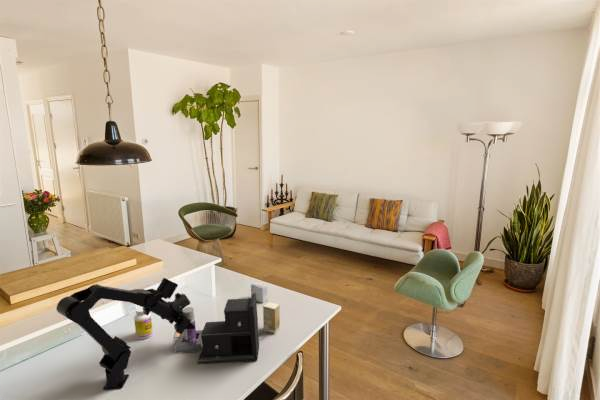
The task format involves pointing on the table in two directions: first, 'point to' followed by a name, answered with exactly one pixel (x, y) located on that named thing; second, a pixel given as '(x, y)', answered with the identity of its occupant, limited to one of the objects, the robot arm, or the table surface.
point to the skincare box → (271, 317)
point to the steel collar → (189, 343)
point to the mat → (177, 335)
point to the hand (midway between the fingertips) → (192, 325)
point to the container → (191, 333)
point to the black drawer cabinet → (232, 334)
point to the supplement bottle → (142, 324)
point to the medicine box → (259, 291)
